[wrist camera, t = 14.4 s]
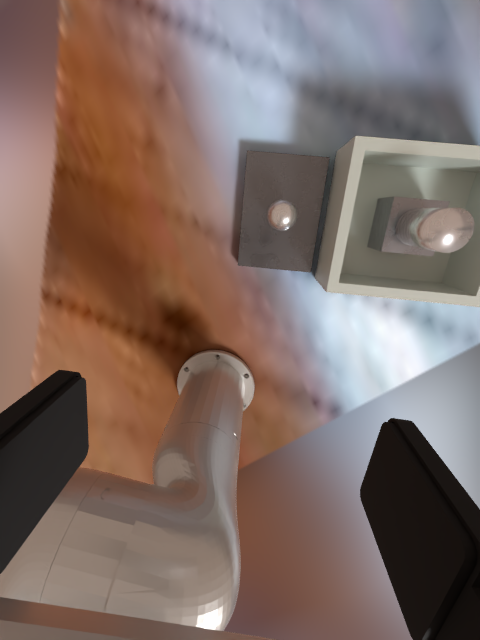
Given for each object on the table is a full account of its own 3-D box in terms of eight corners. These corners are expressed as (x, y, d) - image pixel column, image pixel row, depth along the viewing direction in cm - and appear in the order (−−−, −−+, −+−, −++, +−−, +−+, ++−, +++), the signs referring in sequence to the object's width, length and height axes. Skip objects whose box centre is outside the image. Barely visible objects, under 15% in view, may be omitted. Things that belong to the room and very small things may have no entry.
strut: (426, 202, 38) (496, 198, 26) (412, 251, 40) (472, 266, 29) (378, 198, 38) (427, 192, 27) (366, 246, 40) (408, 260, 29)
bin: (443, 290, 42) (483, 307, 35) (314, 278, 43) (326, 292, 35) (484, 163, 37) (541, 150, 29) (336, 151, 37) (355, 135, 30)
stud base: (308, 270, 42) (316, 279, 37) (238, 263, 43) (234, 271, 37) (327, 159, 38) (339, 149, 32) (247, 152, 38) (245, 141, 32)
